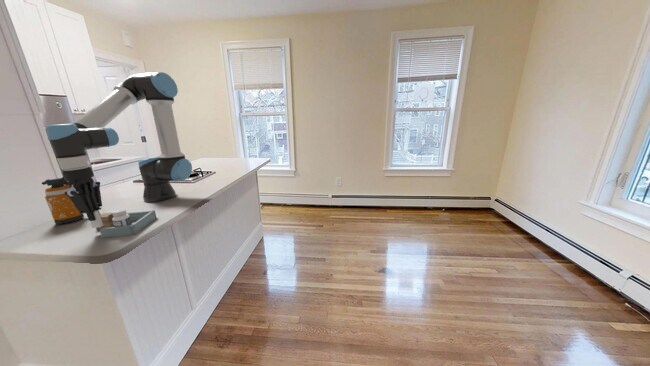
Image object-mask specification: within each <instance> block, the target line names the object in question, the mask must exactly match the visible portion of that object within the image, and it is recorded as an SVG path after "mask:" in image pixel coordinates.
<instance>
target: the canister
mask: <svg viewBox="0 0 650 366" xmlns="http://www.w3.org/2000/svg"><path fill="white" fill-rule="evenodd" d="M41 184H42V185H43V186H45V185H47V186H48V187H47V188H45V190H44V193H45V196H44V198H45V201H46V204H47V206H48V209H49V211H50V213H51V216H52V219H53V221H54V224H56V225H59V224H61V225H63V224H62V223H66V224H70V223H69V222H71V223H74V221H75V222H77V221H79V220H81V219H82V218H84V217H85V215H84V213H82V214H81V213H80V212H79V211H78V210H77V208H76V207H75V205H74V204H73V202H72V201H71V199H70V198H69V197H68V196H67V195H65V192H66V191H69V190H70V187H69V182H68V181H66V180H65V179H64V176H62V177H58V178H52V179H49V178H48V179H45V180H44V181H42V182H41ZM50 186H51V187H50Z"/></svg>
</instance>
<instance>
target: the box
mask: <svg viewBox="0 0 650 366" xmlns="http://www.w3.org/2000/svg"><path fill="white" fill-rule="evenodd" d="M126 214H128V215H129V216H130V218H131V222H132V221H135V222H134V223H132V225H129V226H119V227H114V226H112V227H108V228H101V229H99V232H100V235H101V238H104V239H105V238H112V237H121V236H122V237H123V236H131V235H132V236H133V235H136V234H137V233H138V232H139V231H141V230H142V229H144V228H145V227H146V226H148V225H149V224H151V222H153V221H154V220H156V219H157V213H156V211H155V210H154V209H153V210H143V211H134V212H133V211H132V212H126Z"/></svg>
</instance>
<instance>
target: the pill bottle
mask: <svg viewBox="0 0 650 366" xmlns="http://www.w3.org/2000/svg"><path fill="white" fill-rule="evenodd" d="M126 213H127V210H126V209H124V208H122V209H117V210H114V211H112V214H113V216H114V217H113V219H112V221H113V224H114V226H113V227H119V226H129V225H132V224H133V223H132V221H131V218H130V216H129V215H128V214H126Z"/></svg>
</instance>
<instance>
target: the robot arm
mask: <svg viewBox="0 0 650 366" xmlns="http://www.w3.org/2000/svg"><path fill="white" fill-rule="evenodd" d="M178 90H179V88H178V86H177V84H176V81H175V80H174V78H172V76H170V75H169V74H168V73H166V72H163V71H151V72H144V73H135V74H132V75H129V76H128V77H127V78H125V79H124V80H122V81H120V82H119V83H117V85H115V86H114V87H113V91H112V92H111V93H110V94H108V95H107V96H106V97H105V98H103V99H102V100H101V101H100V102H98V103H97V104H96V105H94V106H93V107H92V108H91V109H90V110H88V111H87V112H86V113H84V114H83V115H82V116H80V117H79V118H78V119H77V120H75V121H73V123H64V124H63V123H62V124H60V123H59V124H48V125H46V126H45V133H46V136H47V139H48V141H49V144H50V146H51V148H52V151H53V153H54V156H55V158H56V160H57V163H58V166H59V168H60V169H61V170H62V171H61V174H62V177H64V179H65V180H66V181H67V182H69V187H70V190H69V191H66V192H65V195H67V196H68V197H69V198H70V199H71V201H72V202H73V204H74V205H75V207H76V208H77V210H78V211H79V212H80V213H81V214H82V213H83V214H86V216H87V219H88V221H89V223H90V224H91V227H92V229H96V228H98V227H102V226H103V223H102V220H101V216H100V214H101V213H100V210H102V207H103V201H102V196H101V195H102V194H101V182H100V181H94V179H93V177H94V171H93V169H92V167H91V166H90V165H91V163H90V160H89V157H88V155H87V151H86V150H90V149H100V148H110V147H112V146H117V145H118V144H119V141H120V137H119V134H118V133H117V131H116V130H115V129H114V128H112V127H107V126H108V125H109V124H110V123H111V122H112V121H113V120H114V119H116V118H117V117H118V116H119V115H120V114H121V113H122V112H124V111H125V110H126V109H127V108H128V107H129V106H130V105H135V104H137V103H138V102H140V101H143V100H145V101H146V103H148V104H149V105H150V106H151V112H152V117H153V120H154V125H155V129H156V134H157V139H158V144H159V148H160V152H161V153H160V155H159V156H155V157H148V158H144V159H140V160H138V169H139V172H140V175H141V179H142V182H143V186H144V188H143V196H142V197H143V201H144V202H145V203H156V202H162V201H166V200H170V199H173V198H174V197H176V195H177V194H176V191H175V189H174V187H173V186H172V184H171V183H170V181H171V182H172V181H174V182H179V181H186V180H187V179H189V177H190V175H192V172H193V165H192V163H191V161H190V160H189V159H187V158H186V156H185V154H184V153H183V152H181V147H180V143H179V137H178V131H177V127H176V121H175V116H174V110H173V104H174V103H175V97H176V96H177V94H178V92H179V91H178Z"/></svg>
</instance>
